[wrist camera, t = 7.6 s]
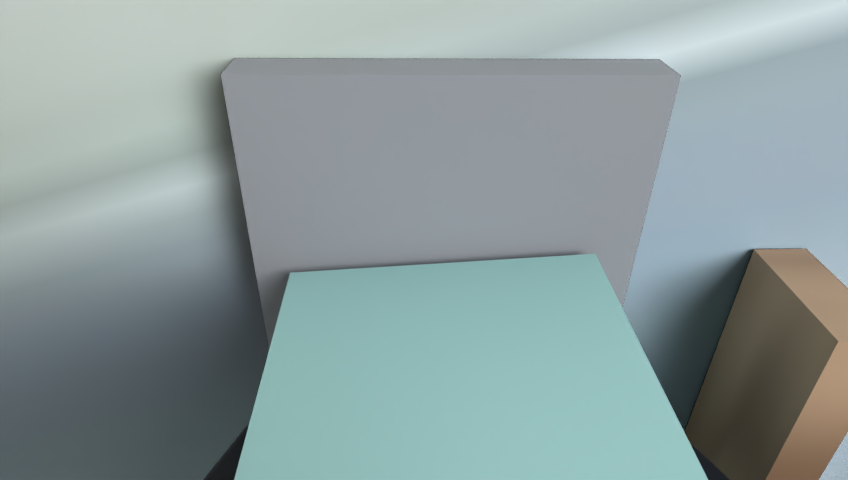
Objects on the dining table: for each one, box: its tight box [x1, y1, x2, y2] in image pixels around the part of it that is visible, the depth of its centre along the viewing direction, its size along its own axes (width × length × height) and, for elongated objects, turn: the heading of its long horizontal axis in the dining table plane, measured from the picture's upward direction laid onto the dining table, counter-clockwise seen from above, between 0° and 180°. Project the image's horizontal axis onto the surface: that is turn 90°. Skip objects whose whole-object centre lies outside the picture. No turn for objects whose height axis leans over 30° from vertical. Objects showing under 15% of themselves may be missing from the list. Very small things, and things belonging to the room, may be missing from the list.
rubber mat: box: [221, 58, 681, 349], centre depth 11 cm, size 10×6×1 cm, turn 179°
